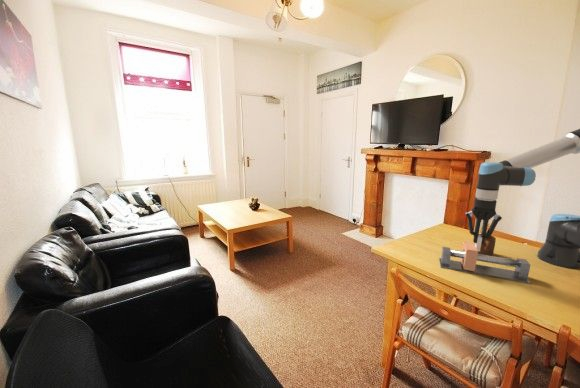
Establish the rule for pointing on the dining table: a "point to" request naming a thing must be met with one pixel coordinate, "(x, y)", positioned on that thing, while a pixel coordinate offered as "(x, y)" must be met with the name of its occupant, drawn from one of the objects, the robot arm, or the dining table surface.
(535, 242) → the dining table surface
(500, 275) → the pipe rig
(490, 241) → the mug
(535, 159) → the robot arm
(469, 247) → the collar
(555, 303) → the dining table surface
